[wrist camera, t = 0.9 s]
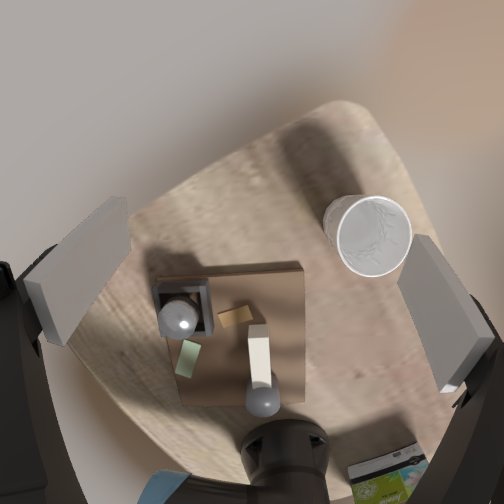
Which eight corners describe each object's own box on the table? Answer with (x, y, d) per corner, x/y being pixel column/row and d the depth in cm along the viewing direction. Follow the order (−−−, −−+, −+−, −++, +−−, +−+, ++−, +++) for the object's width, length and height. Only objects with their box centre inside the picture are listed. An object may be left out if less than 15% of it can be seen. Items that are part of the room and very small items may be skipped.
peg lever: (279, 394, 43) (280, 416, 38) (248, 396, 43) (247, 417, 38) (275, 323, 40) (277, 341, 35) (241, 325, 40) (238, 343, 36)
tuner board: (304, 397, 45) (306, 413, 41) (183, 400, 45) (178, 416, 42) (302, 268, 40) (307, 277, 36) (159, 277, 41) (149, 286, 37)
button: (202, 327, 38) (197, 339, 35) (168, 328, 39) (161, 339, 36) (197, 294, 37) (192, 304, 34) (162, 295, 38) (154, 305, 35)
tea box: (418, 439, 48) (444, 492, 33) (417, 465, 50) (438, 514, 35) (345, 465, 49) (359, 525, 35) (351, 489, 51) (363, 542, 37)
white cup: (306, 234, 39) (321, 253, 29) (337, 178, 37) (363, 179, 28) (357, 263, 40) (385, 290, 30) (388, 210, 38) (424, 222, 28)
